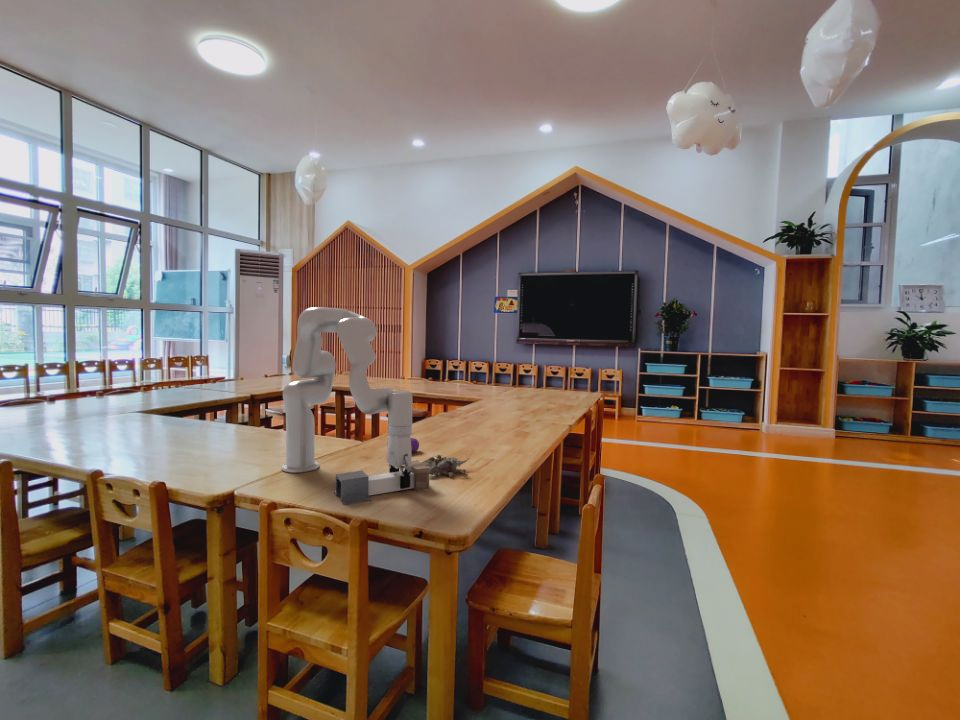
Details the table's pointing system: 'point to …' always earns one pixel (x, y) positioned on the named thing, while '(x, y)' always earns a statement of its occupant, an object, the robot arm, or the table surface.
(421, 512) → the table surface
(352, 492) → the sleeve
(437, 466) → the figurine
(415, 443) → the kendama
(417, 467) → the socket block
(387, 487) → the white block
